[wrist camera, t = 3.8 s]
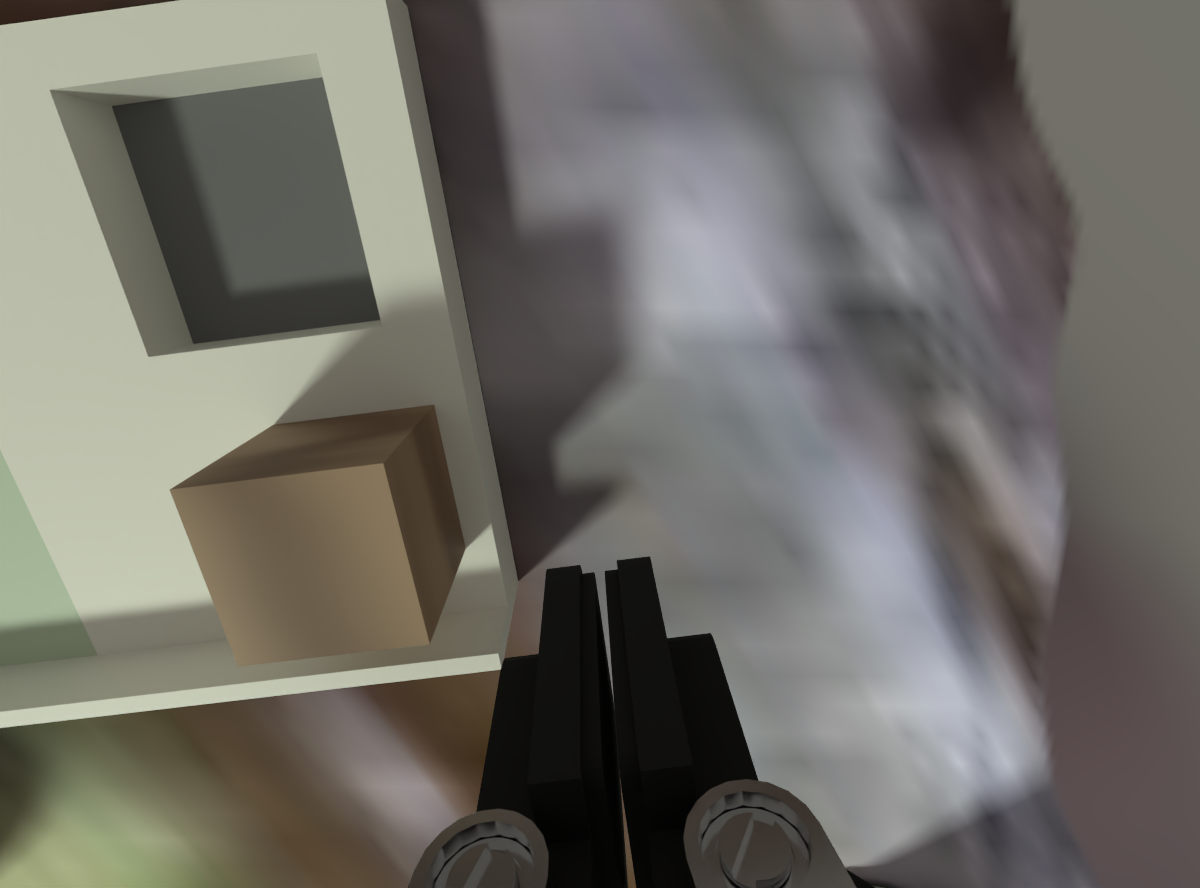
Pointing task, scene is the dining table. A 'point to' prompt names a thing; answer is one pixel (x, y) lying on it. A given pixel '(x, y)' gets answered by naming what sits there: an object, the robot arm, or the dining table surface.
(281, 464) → the walnut block
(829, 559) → the dining table surface
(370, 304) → the trap board
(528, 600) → the dining table surface
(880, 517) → the dining table surface
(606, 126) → the dining table surface
